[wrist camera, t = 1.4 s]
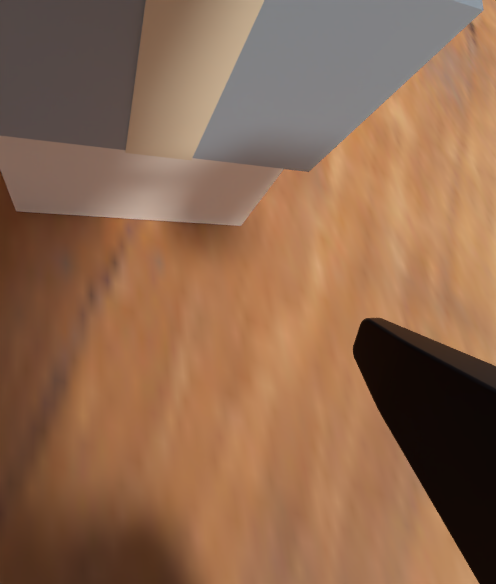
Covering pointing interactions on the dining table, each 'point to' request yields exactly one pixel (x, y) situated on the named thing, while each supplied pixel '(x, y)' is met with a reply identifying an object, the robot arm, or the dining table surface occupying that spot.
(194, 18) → the lid
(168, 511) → the dining table surface
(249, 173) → the storage box
